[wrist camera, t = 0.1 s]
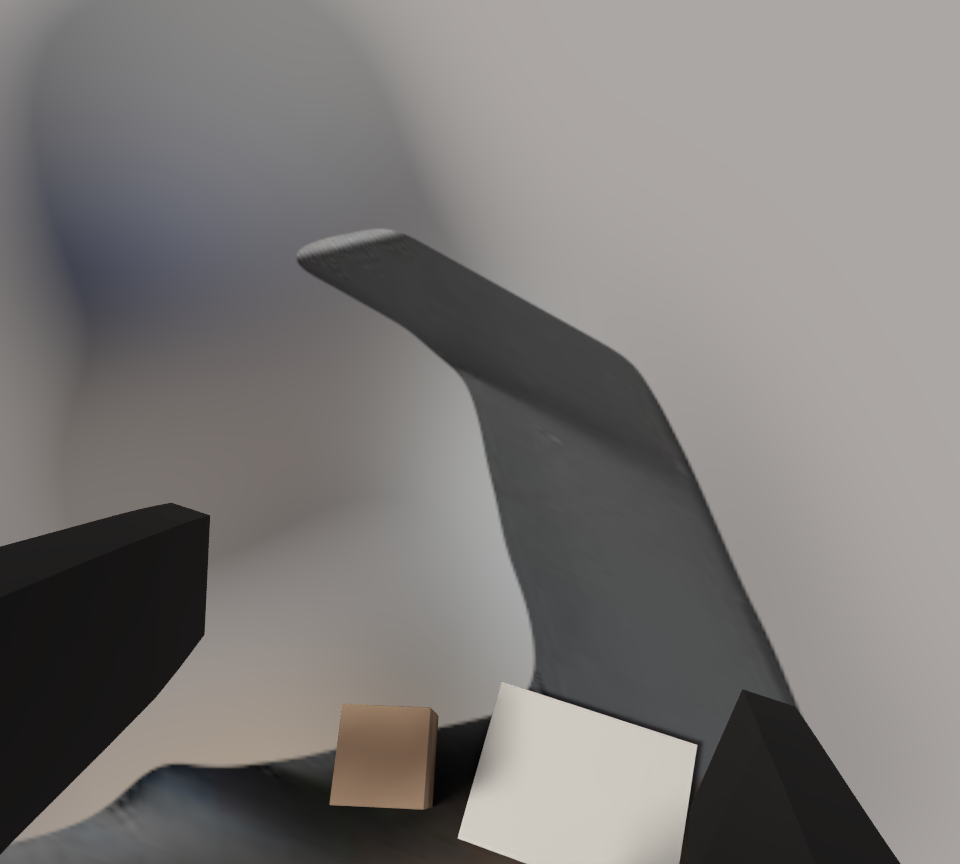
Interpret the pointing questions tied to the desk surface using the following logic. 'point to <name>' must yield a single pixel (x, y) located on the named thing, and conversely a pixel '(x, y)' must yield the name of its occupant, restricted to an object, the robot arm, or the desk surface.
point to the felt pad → (577, 786)
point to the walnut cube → (385, 757)
